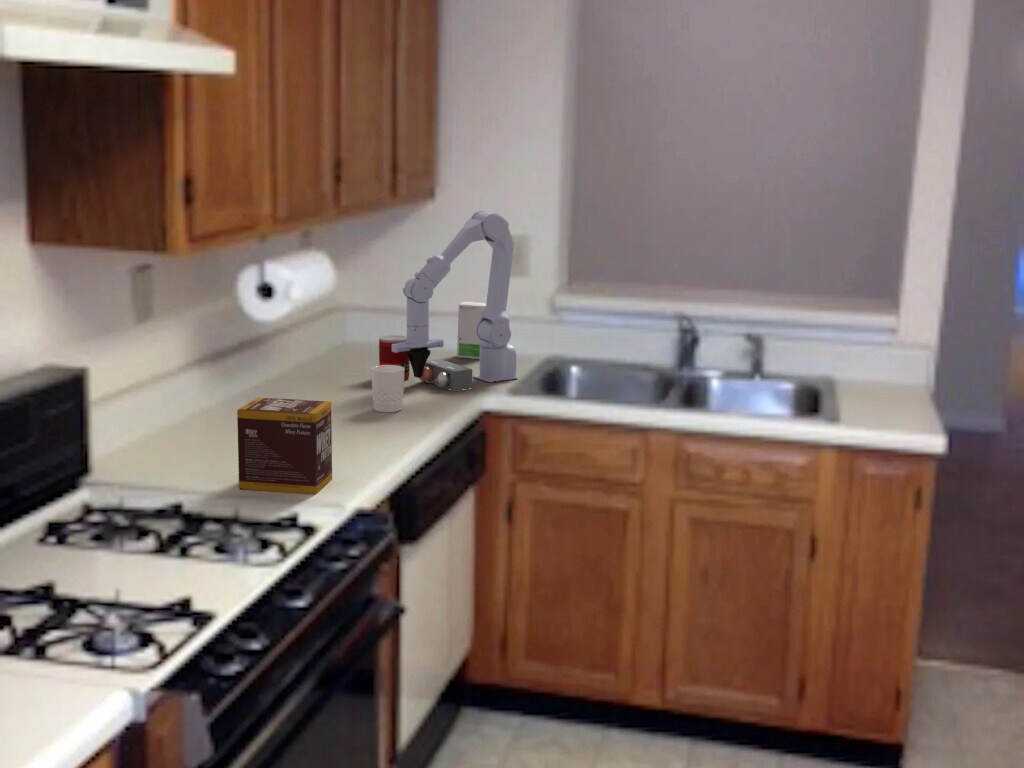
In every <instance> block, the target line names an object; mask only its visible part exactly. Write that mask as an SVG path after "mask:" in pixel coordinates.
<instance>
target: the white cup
mask: <svg viewBox="0 0 1024 768" xmlns="http://www.w3.org/2000/svg"><path fill="white" fill-rule="evenodd" d="M404 372H405V368H404V367H402V366H396V365H380V366H379V365H375V366H372V367H370V373H371V391H372V399H373V410H374V411H376V412H379V413H388V412H389V413H396V411H398V412H400V411H399V410H401V411H402V410H403V406H404V405H403V403H404V401H403V400H404V391H405V381H404Z"/></svg>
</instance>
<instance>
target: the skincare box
mask: <svg viewBox="0 0 1024 768" xmlns="http://www.w3.org/2000/svg"><path fill="white" fill-rule="evenodd" d="M485 308H486V302H478V301H477V302H476V301H462V302H461V303H459V304H458V317H457V319H458V320H457V343H456V344H457V347H456V357H457V358H458V359H459V358H461V359H473V360H480V339H479V338H478V336H477V334H476V327H477V324H478V323H479V321H480V319H481V314H482V312H483V311H484V310H485Z"/></svg>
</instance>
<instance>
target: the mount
mask: <svg viewBox="0 0 1024 768" xmlns="http://www.w3.org/2000/svg"><path fill="white" fill-rule="evenodd" d="M428 366H430V367H431V368H432V369H433V373H434V376H433V379H432V380H428V381H427V382H429V383H428V384H430V383H433V384H436V383H435V375H436V373H440V372H448V373H449V374H450V378H451V381H450V384H449V385H448V386H442V387H444V388H443V389H445V388H447V389H446V390H448V389H451V390H453V391H452V392H454V391H455V392H458V391H457V390H462V389H469V388H472V389H473V369H472V368H471V367H467V366H463V365H460V364H456V363H453V362H450V361H446V360H443V359H434V360H433V359H432V360H427V361H426V363H425V366H424V367H428ZM427 382H426V383H427ZM433 384H432V385H433ZM442 387H441V388H442ZM451 390H450V391H451ZM462 391H463V390H462Z"/></svg>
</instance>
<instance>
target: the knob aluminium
mask: <svg viewBox="0 0 1024 768" xmlns="http://www.w3.org/2000/svg"><path fill="white" fill-rule="evenodd" d="M450 381H451V378H450V374H449V373H448V372H440V373H436V375H435V383H436V385H437V387H438V388H442V386H448V385H449V384H450ZM436 385H435V386H436Z"/></svg>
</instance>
